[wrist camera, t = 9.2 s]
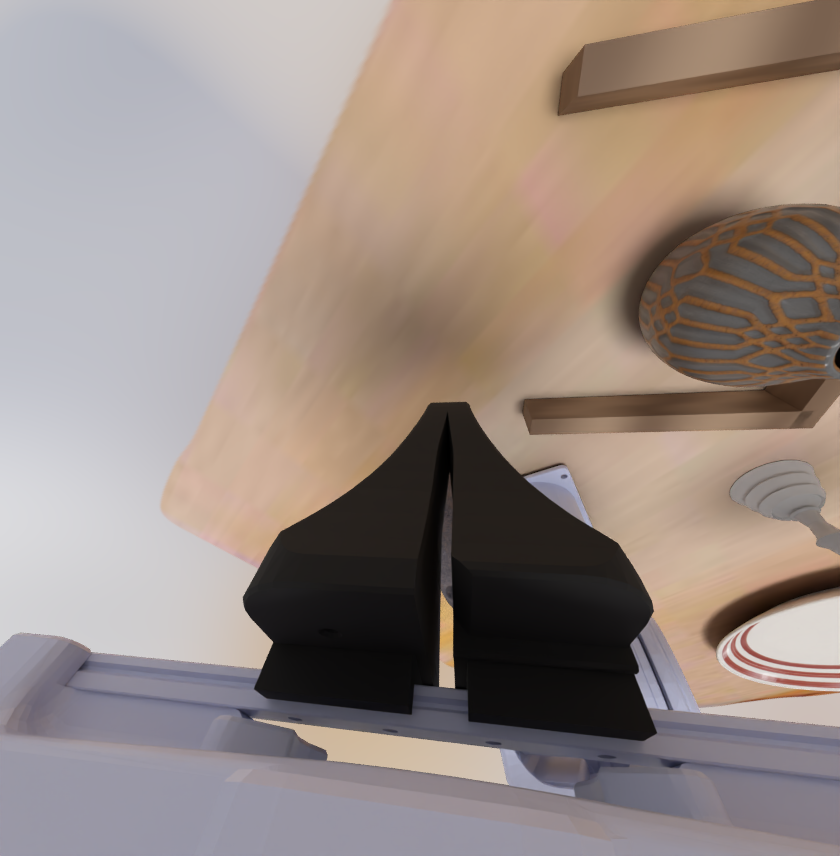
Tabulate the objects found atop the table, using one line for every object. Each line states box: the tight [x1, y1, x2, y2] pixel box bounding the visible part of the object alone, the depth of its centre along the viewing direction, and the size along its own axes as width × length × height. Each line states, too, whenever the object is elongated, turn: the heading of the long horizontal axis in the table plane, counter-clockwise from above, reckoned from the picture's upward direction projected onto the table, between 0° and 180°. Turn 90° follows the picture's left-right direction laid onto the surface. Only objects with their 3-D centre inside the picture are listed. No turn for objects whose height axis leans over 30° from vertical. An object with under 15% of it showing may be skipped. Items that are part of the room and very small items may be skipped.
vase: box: [639, 204, 840, 387], centre depth 12 cm, size 7×7×9 cm
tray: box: [523, 0, 840, 435], centre depth 15 cm, size 16×16×2 cm
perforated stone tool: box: [441, 474, 453, 608], centre depth 26 cm, size 15×5×7 cm, turn 15°
